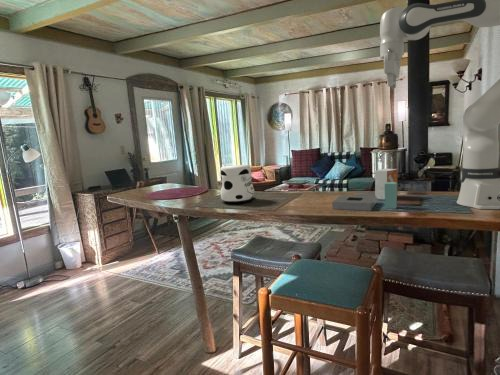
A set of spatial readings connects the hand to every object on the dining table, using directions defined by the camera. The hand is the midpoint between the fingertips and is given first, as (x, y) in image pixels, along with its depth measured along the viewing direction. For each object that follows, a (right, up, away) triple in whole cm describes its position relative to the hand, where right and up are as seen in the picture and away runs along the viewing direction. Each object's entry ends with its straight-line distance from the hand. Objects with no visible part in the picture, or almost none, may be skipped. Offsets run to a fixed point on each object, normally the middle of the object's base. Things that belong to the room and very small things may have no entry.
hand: (391, 87), depth 132 cm
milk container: (-65, -49, +32) cm, 87 cm away
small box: (+4, -46, +15) cm, 49 cm away
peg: (-2, -49, -3) cm, 49 cm away
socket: (-14, -49, +4) cm, 51 cm away
